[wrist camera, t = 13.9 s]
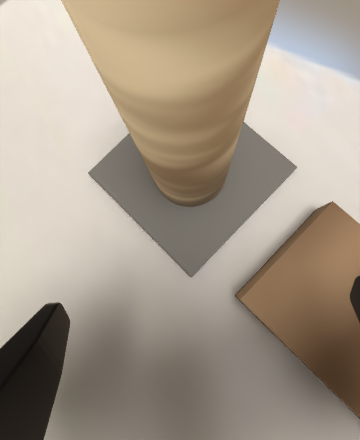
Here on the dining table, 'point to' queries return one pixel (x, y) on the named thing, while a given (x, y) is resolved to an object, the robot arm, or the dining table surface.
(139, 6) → the birch roller
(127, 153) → the support pad
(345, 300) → the walnut slab
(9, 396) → the robot arm
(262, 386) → the dining table surface
